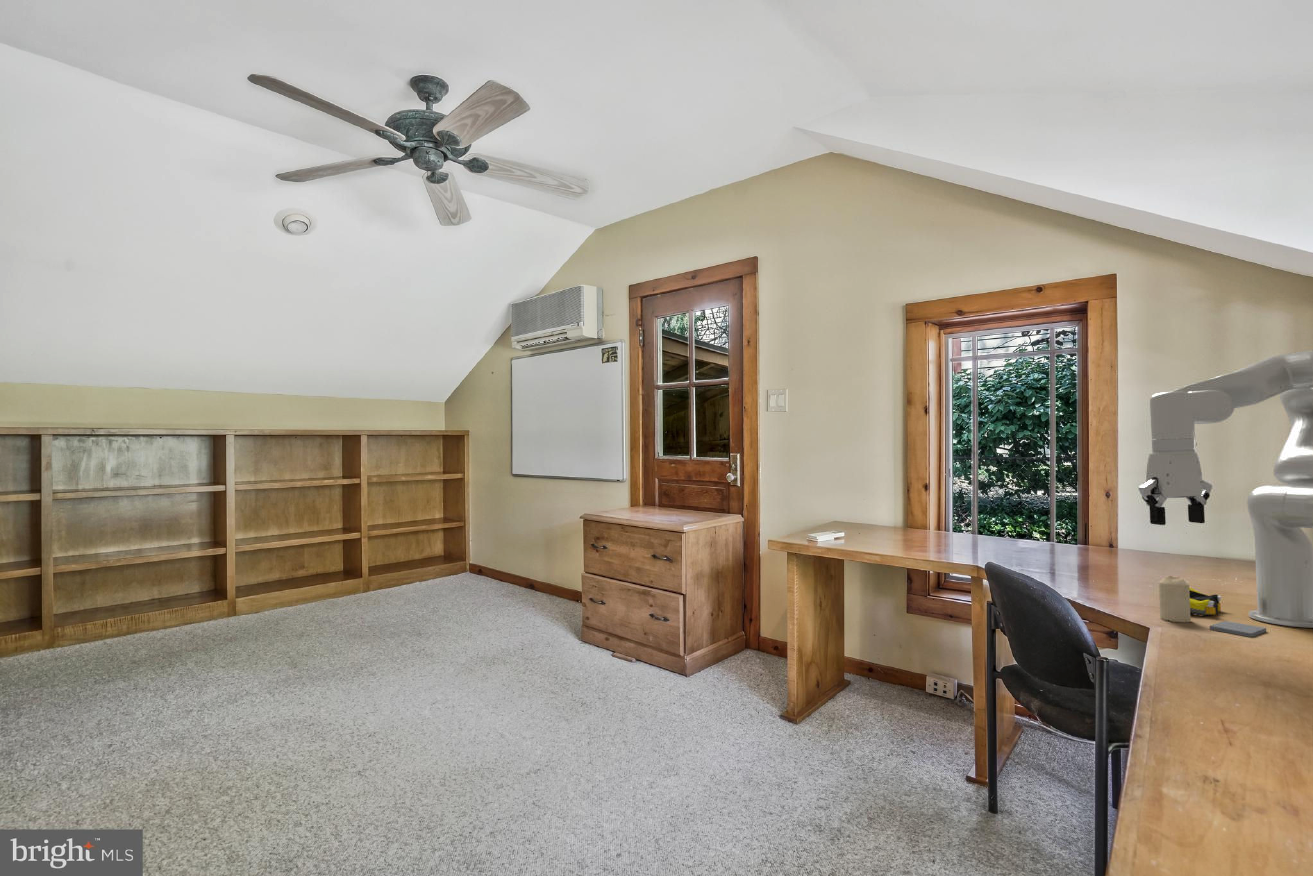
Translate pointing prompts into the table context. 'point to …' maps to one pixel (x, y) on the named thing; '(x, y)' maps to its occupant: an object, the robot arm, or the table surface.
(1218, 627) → the grey flat block
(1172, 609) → the candle
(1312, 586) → the robot arm
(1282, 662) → the table surface
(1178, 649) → the table surface
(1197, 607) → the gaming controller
